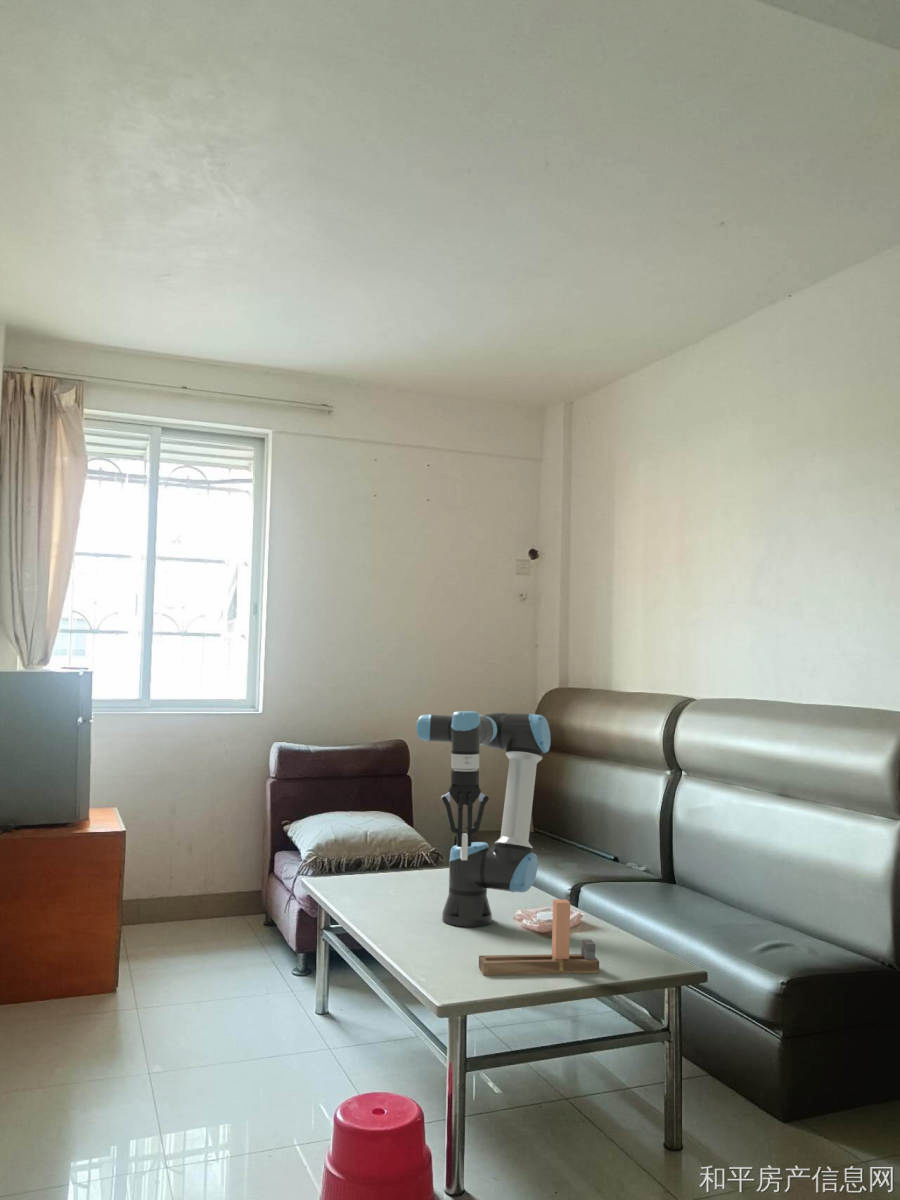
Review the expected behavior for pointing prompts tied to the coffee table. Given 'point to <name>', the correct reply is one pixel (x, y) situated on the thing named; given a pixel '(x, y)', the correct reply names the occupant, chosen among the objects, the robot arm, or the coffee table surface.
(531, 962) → the beam
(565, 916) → the block
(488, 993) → the coffee table surface
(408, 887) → the coffee table surface
